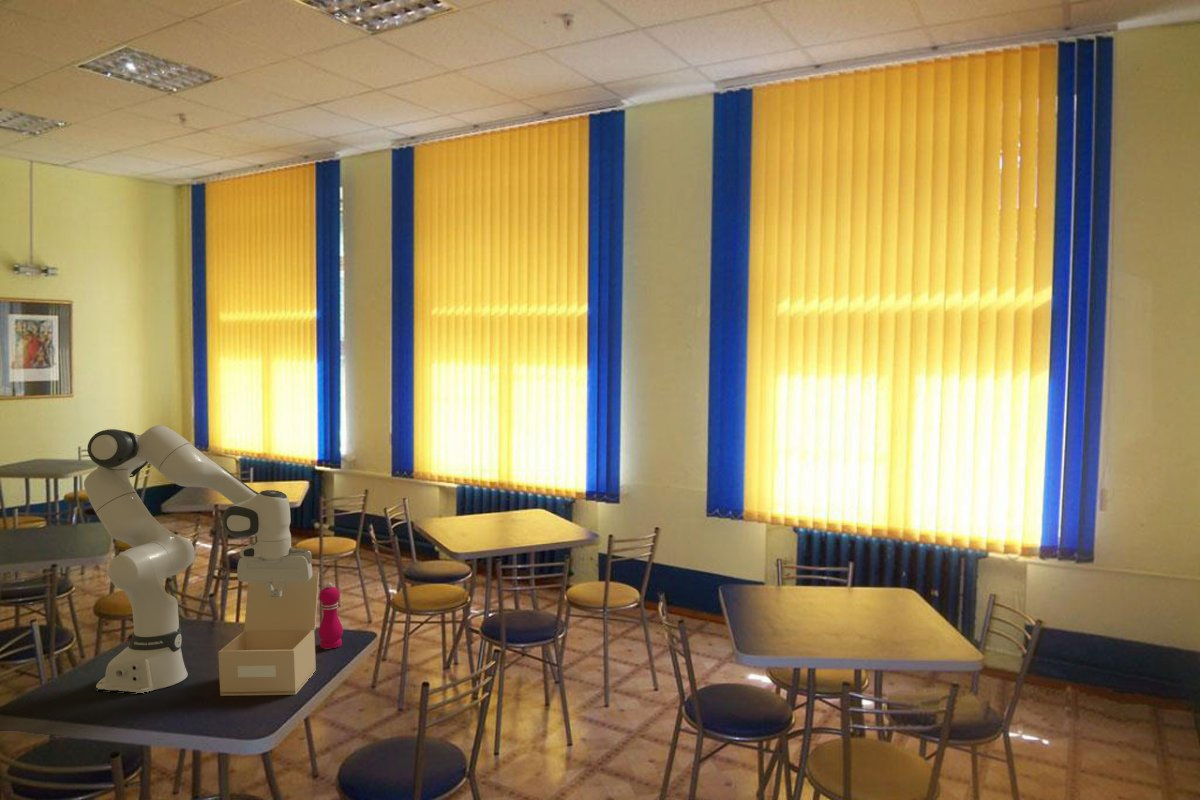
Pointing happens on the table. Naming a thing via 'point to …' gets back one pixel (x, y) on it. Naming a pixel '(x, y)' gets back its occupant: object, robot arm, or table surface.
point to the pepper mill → (330, 618)
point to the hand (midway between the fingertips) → (275, 596)
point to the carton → (267, 662)
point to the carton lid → (282, 606)
